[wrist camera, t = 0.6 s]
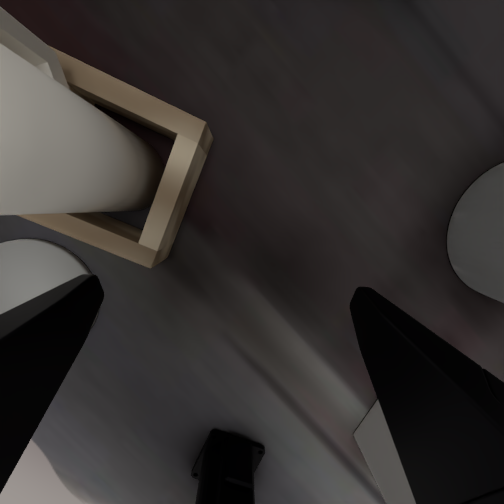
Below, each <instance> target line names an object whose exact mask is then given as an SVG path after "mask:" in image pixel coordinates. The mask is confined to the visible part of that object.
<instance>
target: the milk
mask: <svg viewBox="0 0 504 504" xmlns="http://www.w3.org/2000/svg"><path fill="white" fill-rule="evenodd" d="M353 435H354V438H355V440H356V442H357V444H358V446H359V448H360V450H361V452H362V454H363V456H364V459H365V461H366V463H367V465H368V467H369V469H370V471H371V473H372V475H373V477H374V479H375V482H376V484H377V486H378V488H379V490H380V492H381V494H382V496H383V498H384V500H385V502H386V504H416V502H415V500H414V497H413V494H412V491H411V489H410V486H409V483H408V480H407V478H406V475H405V472H404V469H403V467H402V464H401V461H400V458H399V456H398V453H397V450H396V447H395V445H394V442H393V439H392V436H391V434H390V431H389V428H388V425H387V423H386V420H385V417H384V414H383V412H382V409H381V406H380V403H379V401H378V400H377V401H376V402H375V404H374V405H373V407H372V408H371V409H370V411H369V412H368V414H367V415H366V417H365V418H364V419H363V421H362V422H361V424H360V425H359V427H358V428H357V429H356V431H355V432H354V434H353Z"/></svg>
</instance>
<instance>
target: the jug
mask: <svg viewBox="0 0 504 504" xmlns="http://www.w3.org/2000/svg"><path fill="white" fill-rule="evenodd" d="M164 171H165V169H164V165H163V162H162V159H161V157H160V156H159V154H158V153H157V151H156V150H155V149H154V148H153V146H151V145H150V144H149V143H148V142H146V141H145V140H143V139H142V138H140V137H139V136H137V135H136V134H134V133H133V132H131V131H130V130H129V129H127V128H126V127H124V126H123V125H121V124H120V123H118V122H117V121H115V120H114V119H112V118H111V117H109V116H108V115H106V114H105V113H103V112H102V111H100V110H99V109H97V108H96V107H94V106H93V105H91V104H90V103H88V102H87V101H85V100H84V99H82V98H81V97H79V96H78V95H76V94H75V93H73V92H72V91H70V89H69V86H68V84H67V81H66V78H65V76H64V73H63V70H62V68H61V65H60V62H59V60H58V57H57V54H56V52H55V51H54V50H52V49H51V48H50V47H49V46H47V45H46V44H45V43H44V42H43V41H41V40H40V39H39V38H38V37H37V36H35V35H34V34H33V33H32V32H30V31H29V30H28V29H27V28H26V27H24V26H23V25H22V24H21V23H20V22H18V21H17V20H16V19H15V18H13V17H12V16H11V15H10V14H9V13H7V12H6V11H5V10H4V9H3V8H1V7H0V215H23V214H53V213H83V212H114V211H137V210H142V209H144V208H147V207H149V206H150V205H152V204H153V201H154V198H155V195H156V193H157V190H158V187H159V184H160V182H161V179H162V176H163V173H164Z"/></svg>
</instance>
